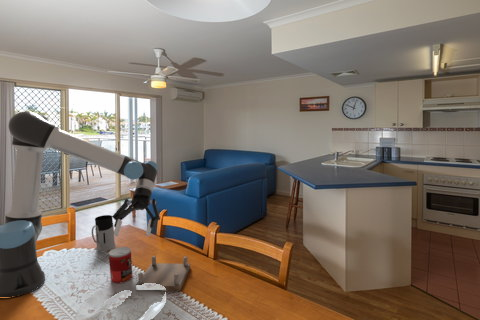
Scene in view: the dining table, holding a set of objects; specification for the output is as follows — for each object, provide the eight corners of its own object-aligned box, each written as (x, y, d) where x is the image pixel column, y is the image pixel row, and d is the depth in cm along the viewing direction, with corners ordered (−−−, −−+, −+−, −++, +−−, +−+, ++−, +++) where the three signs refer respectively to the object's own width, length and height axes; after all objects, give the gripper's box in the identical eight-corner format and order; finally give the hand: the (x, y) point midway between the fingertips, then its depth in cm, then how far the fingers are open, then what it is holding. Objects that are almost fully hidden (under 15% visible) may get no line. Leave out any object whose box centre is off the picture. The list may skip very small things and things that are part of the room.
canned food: (125, 284, 103) (123, 256, 102) (106, 282, 105) (103, 254, 103) (136, 273, 111) (134, 247, 109) (118, 272, 112) (116, 246, 111)
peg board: (135, 290, 99) (134, 276, 99) (152, 267, 115) (151, 255, 114) (179, 291, 98) (179, 276, 98) (190, 268, 114) (189, 255, 114)
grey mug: (119, 243, 139) (117, 214, 138) (103, 256, 125) (101, 224, 124) (102, 243, 140) (100, 214, 138) (84, 256, 126) (82, 224, 124)
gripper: (172, 195, 131) (163, 238, 118) (120, 195, 132) (106, 238, 119) (168, 186, 125) (158, 231, 112) (114, 186, 126) (98, 231, 113)
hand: (131, 235), depth 115 cm, fingers open, 13 cm apart
